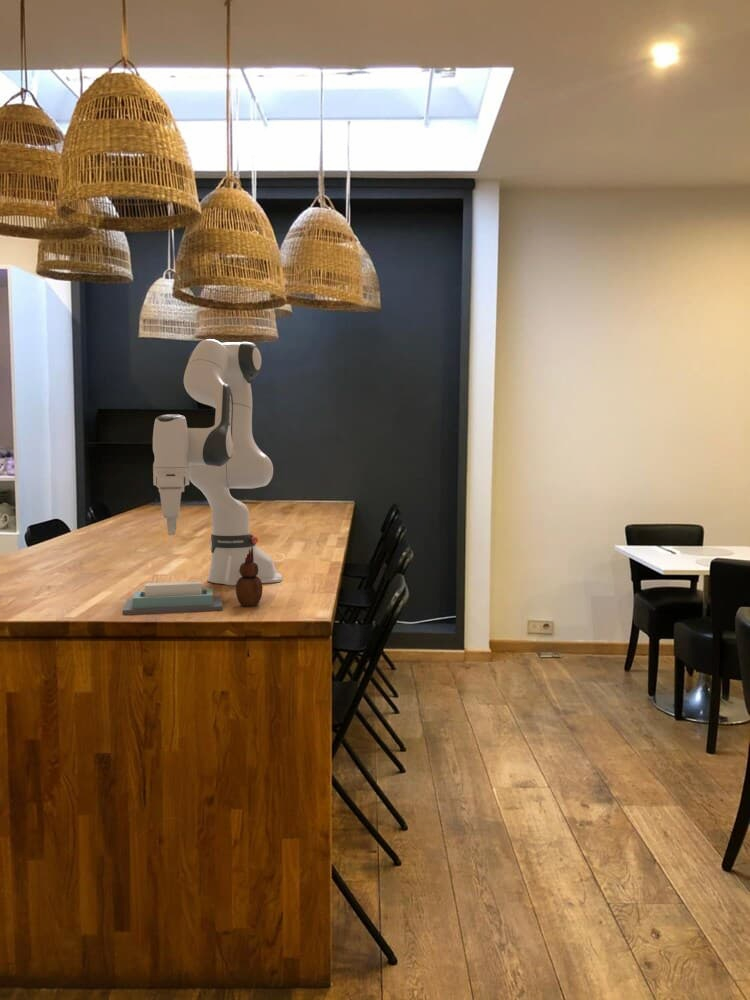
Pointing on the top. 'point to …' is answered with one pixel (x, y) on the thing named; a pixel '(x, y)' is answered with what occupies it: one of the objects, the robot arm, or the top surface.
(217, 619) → the top surface
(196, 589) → the long cream plank
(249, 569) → the wooden figurine
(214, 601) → the cradle jig
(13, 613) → the top surface
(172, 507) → the robot arm
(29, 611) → the top surface
